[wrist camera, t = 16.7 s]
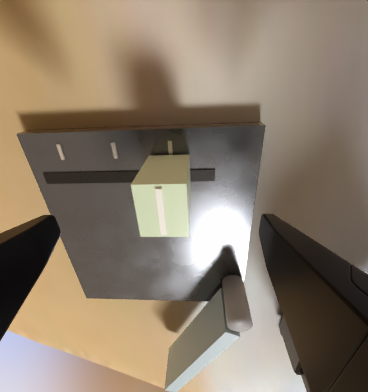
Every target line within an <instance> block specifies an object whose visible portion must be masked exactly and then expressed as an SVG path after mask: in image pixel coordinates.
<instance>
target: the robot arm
mask: <svg viewBox="0 0 368 392" xmlns="http://www.w3.org/2000/svg"><path fill="white" fill-rule="evenodd" d="M60 234H61V229H60V227H59V224H58V222H57V220H56V217H55V216H53V215H43V216H40V217H38V218H35V219H33V220H31V221H28V222H26V223H24V224H21V225H19V226H17V227H14V228H12V229H10V230H7V231H5V232H3V233H0V341H1V339H2V337H3V336H4V334H5V332H6V331H7V329H8V327H9V326H10V324H11V323H12V321H13V319H14V318H15V316H16V314H17V313H18V311H19V309H20V308H21V306H22V304H23V303H24V301H25V299H26V298H27V296H28V294H29V293H30V291H31V289H32V288H33V286H34V284H35V283H36V281H37V279H38V278H39V276H40V274H41V273H42V271H43V269H44V268H45V266H46V264H47V262H48V260H49V258H50V256H51V254H52V252H53V250H54V247H55V245H56V243H57V241H58V239H59V237H60ZM259 236H260V240H261V245H262V249H263V254H264V258H265V263H266V267H267V270H268V273H269V276H270V279H271V282H272V285H273V287H274V290H275V293H276V296H277V299H278V302H279V304H280V307H281V310H282V313H283V317H282V321H281V324H280V333H281V335H282V336H283V339H284V342H285V345H286V348H287V352H288V355H289V358H290V361H291V364H292V367H293V370H294V372H295V373H296V374H297V375H301V376H302V379H303V382H304V385H305V388H306V391H307V392H368V274H366V273H365V272H363V271H361V270H360V269H358V268H357V267H355V266H354V265H351V264H350V263H349V262H347V261H346V260H344V259H343V258H341V257H339V256H338V255H336V254H335V253H333V252H332V251H330V250H328V249H327V248H325V247H324V246H322V245H321V244H319V243H318V242H316V241H314V240H313V239H311V238H310V237H308V236H307V235H305V234H303V233H302V232H300V231H299V230H297V229H296V228H294V227H292V226H291V225H289V224H288V223H286V222H285V221H283V220H282V219H280V218H278V217H277V216H275V215H274V214H263V215H262V216H261V222H260V228H259Z"/></svg>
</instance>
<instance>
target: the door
mask: <svg viewBox="0 0 368 392" xmlns="http://www.w3.org/2000/svg"><path fill="white" fill-rule="evenodd" d="M222 286H223V288H220V289H219V290H218V292H217V293H216V294H215V295H214V296H213V297H212V299H211V300H210V301H209V302H208V303H207V305H206V306H205V307H204V308H203V309H202V310H201V312H200V313H199V314H198V315H197V316H196V317H195V319H194V320H193V321H192V322H191V323H190V324H189V326H188V327H187V328H186V329H185V330H184V332H183V333H182V334H181V335H180V336H179V337H178V339H177V340H176V341H175V342H174V343H173V344H172V346H171V347H170V348H169V354H168V364H167V373H166V382H165V390H166V391H170V392H178V391H179V390H180V389H181V388H182V387H183V386H184V385H186V384H187V383H188V382H189V381H190V380H191V379H192V378H194V377H195V376H196V375H197V374H198V373H199V372H200V371H201V370H203V369H204V368H205V367H206V366H207V365H208V364H209V363H211V362H212V361H213V360H214V359H215V358H216V357H217V356H219V355H220V354H221V353H222V352H223V351H224V350H225V349H227V348H228V347H229V346H230V345H231V344H232V343H233V342H235V341H236V340H237V339H238V338H239V337H240V334H239V332H243V331H247V330H249V329H250V328H251V327H252V325H253V323H252V319H251V314H250V310H249V305H248V301H247V296H246V292H245V287H244V282H243V279H242V278H241V277H239V276H237V275H229V276H226V277H225V278H224V279H223V280H222Z"/></svg>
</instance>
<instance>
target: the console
mask: <svg viewBox="0 0 368 392" xmlns="http://www.w3.org/2000/svg"><path fill="white" fill-rule="evenodd" d="M264 131H265V125H264V124H263V123H261V122H247V123H219V124H192V125H164V126H136V127H109V128H81V129H53V130H28V131H24V132H21V133H18V134H17V136H18V139H19V141H20V144H21V146H22V148H23V151H24V153H25V155H26V158H27V160H28V162H29V165H30V167H31V169H32V172H33V174H34V176H35V179H36V181H37V183H38V186H39V188H40V190H41V193H42V195H43V197H44V200H45V202H46V204H47V207H48V209H49V211H50V214H51V215H53V216H55V217H56V220H57V222H58V224H59V227H60V229H61V234H60V237H61V239H62V242H63V244H64V246H65V249H66V251H67V253H68V256H69V258H70V260H71V263H72V265H73V267H74V270H75V272H76V274H77V277H78V279H79V281H80V284H81V286H82V288H83V291H84V293H85V295H86V298H99V299H138V300H178V301H210V300H211V299H212V297H213V296H214V295H215V294H216V293H217V292H218V290H219V289H220V288H223V286H222V280H223V279H224V278H225V277H226V276H229V275H237V276H239V277H241V278H242V279H243V282H244V277H245V269H246V262H247V255H248V247H249V240H250V233H251V226H252V218H253V211H254V204H255V196H256V189H257V182H258V175H259V167H260V160H261V153H262V145H263V138H264ZM154 155H190V180H191V208H190V225H189V237H140V231H139V226H138V221H137V216H136V210H135V205H134V200H133V194H132V189H131V183H132V182H133V180H134V179H135V177H136V175H137V174H138V172H139V171H140V169H141V167H142V166H143V164H144V163H145V161H146V159H147V158H148V156H154Z"/></svg>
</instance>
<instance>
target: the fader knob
mask: <svg viewBox="0 0 368 392" xmlns="http://www.w3.org/2000/svg"><path fill="white" fill-rule="evenodd" d="M131 189H132V194H133V200H134V205H135V210H136V216H137V221H138V226H139V231H140V237H189V225H190V208H191V180H190V155H154V156H148V158H147V159H146V161H145V163H144V164H143V166H142V167H141V169H140V171H139V172H138V174H137V175H136V177H135V179H134V180H133V182H132V183H131Z"/></svg>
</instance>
